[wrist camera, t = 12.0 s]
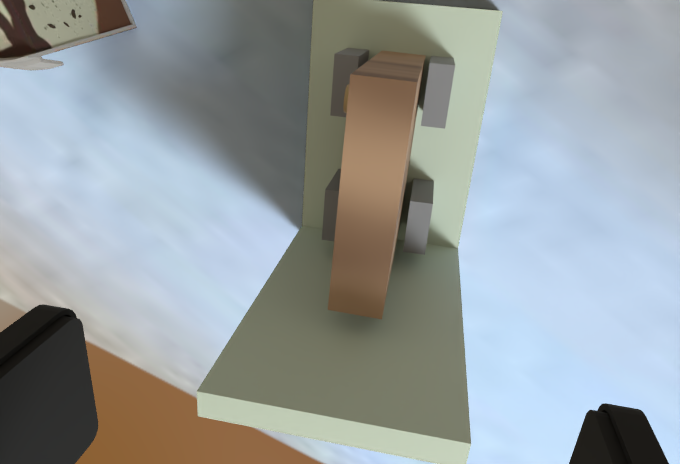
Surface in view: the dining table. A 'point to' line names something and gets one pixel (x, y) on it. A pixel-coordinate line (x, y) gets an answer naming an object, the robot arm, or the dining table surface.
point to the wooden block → (373, 179)
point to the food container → (55, 28)
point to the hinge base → (408, 264)
